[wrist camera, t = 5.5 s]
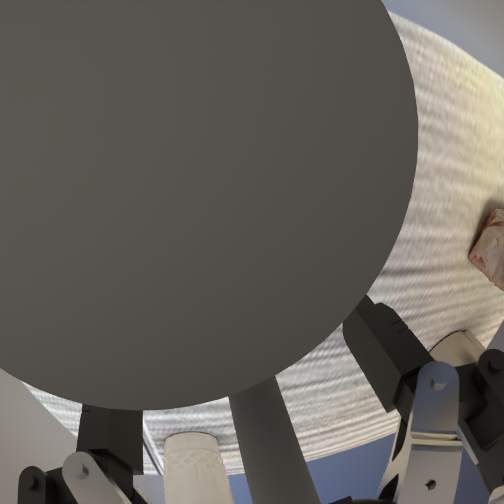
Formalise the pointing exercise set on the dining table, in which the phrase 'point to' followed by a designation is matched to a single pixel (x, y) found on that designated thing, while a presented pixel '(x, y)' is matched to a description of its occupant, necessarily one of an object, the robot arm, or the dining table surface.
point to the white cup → (194, 470)
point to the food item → (491, 249)
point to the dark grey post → (193, 188)
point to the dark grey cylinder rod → (270, 447)
